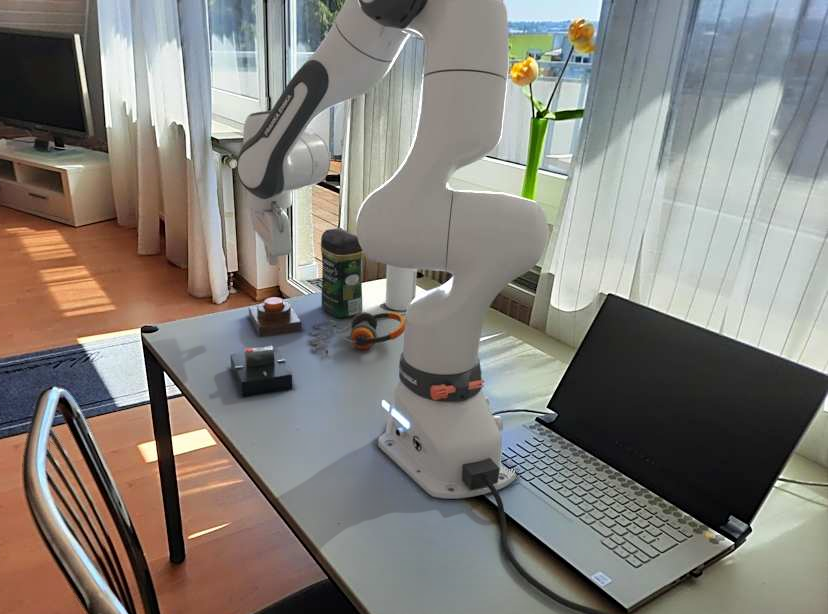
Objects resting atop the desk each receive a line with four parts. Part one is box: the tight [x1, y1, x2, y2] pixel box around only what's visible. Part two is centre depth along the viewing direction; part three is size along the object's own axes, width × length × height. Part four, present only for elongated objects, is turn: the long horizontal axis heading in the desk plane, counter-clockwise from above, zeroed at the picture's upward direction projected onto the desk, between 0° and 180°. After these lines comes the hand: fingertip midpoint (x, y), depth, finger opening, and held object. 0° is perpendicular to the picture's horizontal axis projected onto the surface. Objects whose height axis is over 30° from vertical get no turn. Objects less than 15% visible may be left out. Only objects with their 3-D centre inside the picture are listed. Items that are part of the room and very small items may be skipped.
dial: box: [244, 345, 275, 368], centre depth 117 cm, size 5×2×3 cm, turn 110°
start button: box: [263, 296, 284, 311], centre depth 139 cm, size 4×4×2 cm
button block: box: [248, 300, 302, 337], centre depth 140 cm, size 11×9×4 cm
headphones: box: [310, 311, 405, 357], centre depth 133 cm, size 17×5×20 cm
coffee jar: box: [320, 227, 364, 319], centre depth 144 cm, size 10×8×19 cm
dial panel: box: [230, 347, 293, 398], centre depth 119 cm, size 11×9×3 cm
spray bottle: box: [385, 264, 418, 311], centre depth 147 cm, size 7×7×18 cm
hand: (272, 263), depth 135 cm, fingers closed
